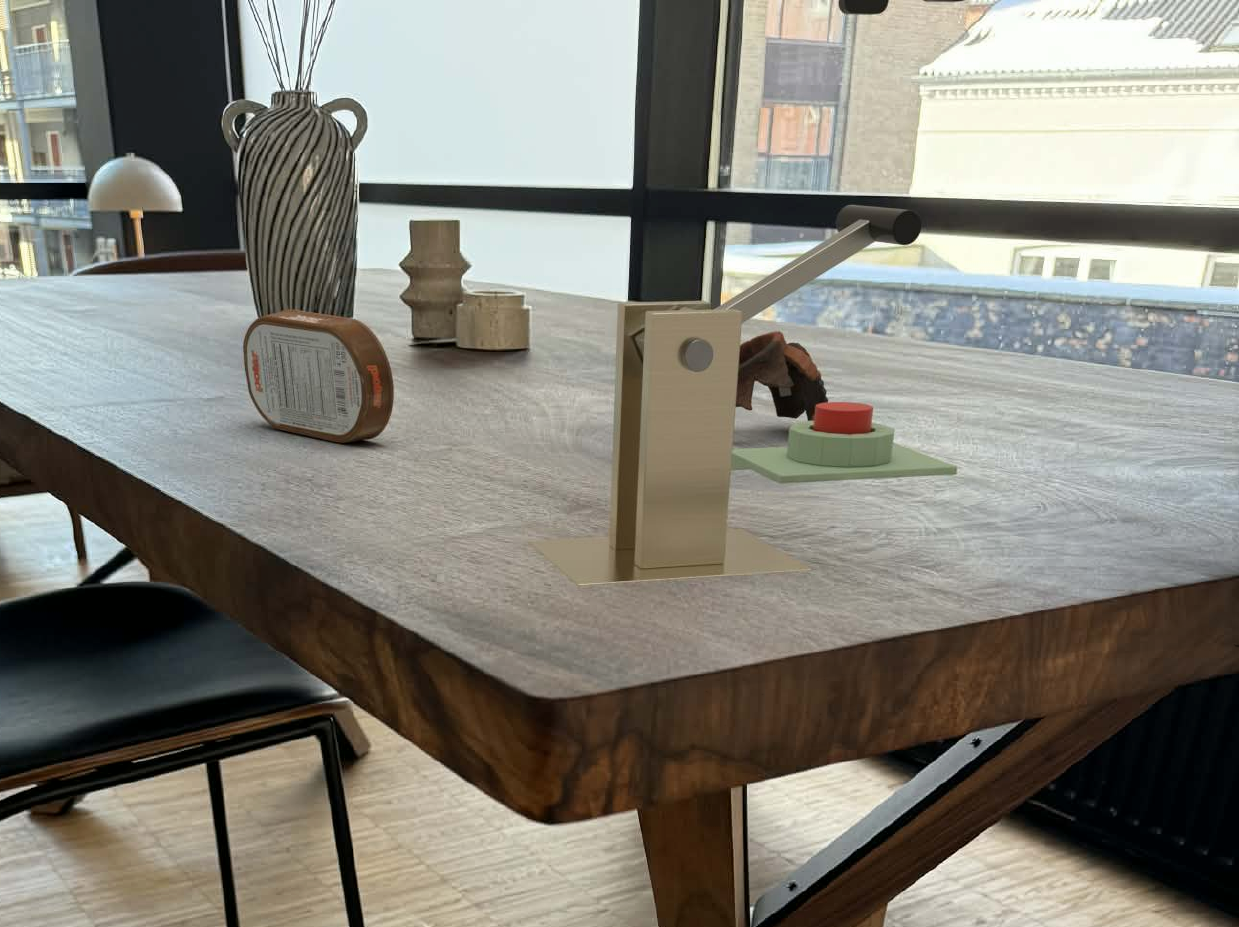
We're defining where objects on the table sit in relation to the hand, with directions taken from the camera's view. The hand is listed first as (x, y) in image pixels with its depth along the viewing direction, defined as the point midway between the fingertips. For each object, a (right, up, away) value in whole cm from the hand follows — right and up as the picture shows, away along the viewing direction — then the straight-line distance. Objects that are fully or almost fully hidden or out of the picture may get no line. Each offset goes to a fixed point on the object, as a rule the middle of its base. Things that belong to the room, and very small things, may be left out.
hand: (900, 6), depth 67 cm
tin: (-32, -2, +47) cm, 56 cm away
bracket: (-9, -23, +10) cm, 27 cm away
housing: (+4, -11, +31) cm, 33 cm away
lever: (-4, -11, +5) cm, 13 cm away
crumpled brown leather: (+2, -2, +47) cm, 47 cm away
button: (+4, -8, +30) cm, 31 cm away
